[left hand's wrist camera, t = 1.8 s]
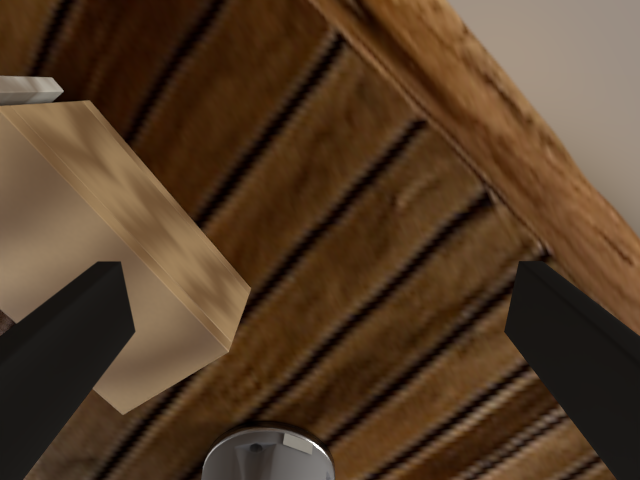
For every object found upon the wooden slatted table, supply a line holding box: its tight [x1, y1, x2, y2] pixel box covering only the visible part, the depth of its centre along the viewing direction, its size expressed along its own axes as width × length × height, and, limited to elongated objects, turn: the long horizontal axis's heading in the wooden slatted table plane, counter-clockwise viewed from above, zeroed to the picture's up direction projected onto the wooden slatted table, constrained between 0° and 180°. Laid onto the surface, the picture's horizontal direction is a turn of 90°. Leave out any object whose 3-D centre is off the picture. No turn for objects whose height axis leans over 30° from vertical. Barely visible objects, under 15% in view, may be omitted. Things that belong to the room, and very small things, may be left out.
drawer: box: [0, 76, 64, 106], centre depth 28 cm, size 24×10×7 cm, turn 35°
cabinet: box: [0, 100, 251, 415], centre depth 30 cm, size 20×11×9 cm, turn 35°
